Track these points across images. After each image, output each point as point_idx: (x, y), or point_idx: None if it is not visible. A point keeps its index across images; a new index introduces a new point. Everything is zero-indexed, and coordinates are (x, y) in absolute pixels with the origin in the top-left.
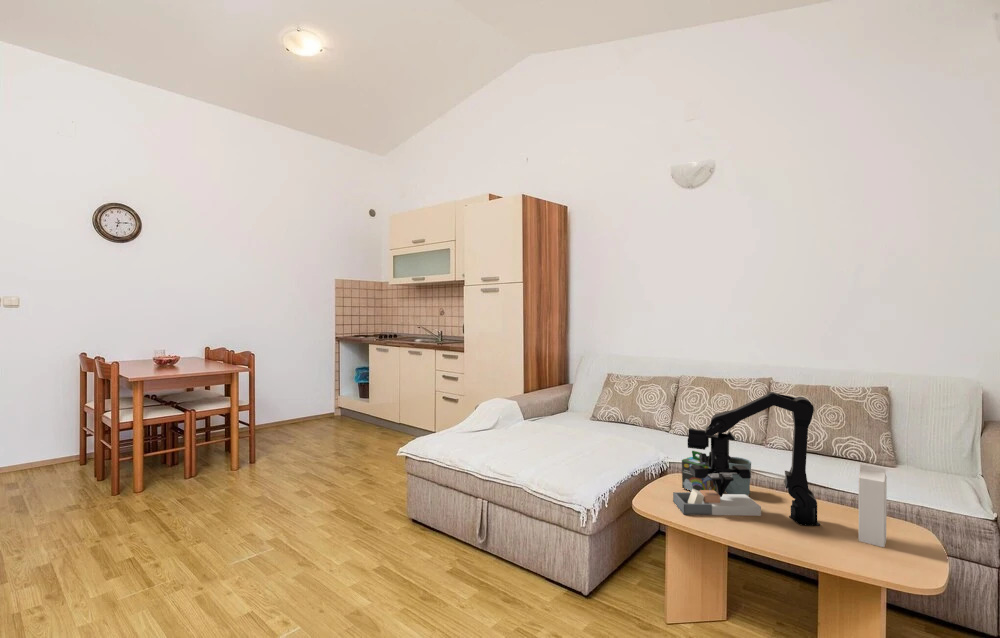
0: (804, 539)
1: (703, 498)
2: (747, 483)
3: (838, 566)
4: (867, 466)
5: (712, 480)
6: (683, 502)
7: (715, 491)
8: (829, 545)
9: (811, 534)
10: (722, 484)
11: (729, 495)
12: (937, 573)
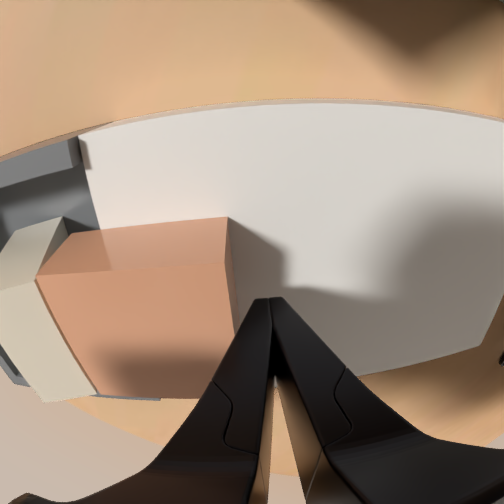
0: (426, 429)
1: None
2: None
3: None
4: None
5: (161, 465)
6: (4, 365)
7: (230, 303)
8: (451, 431)
9: (470, 400)
10: (303, 473)
11: (428, 149)
12: (496, 437)
